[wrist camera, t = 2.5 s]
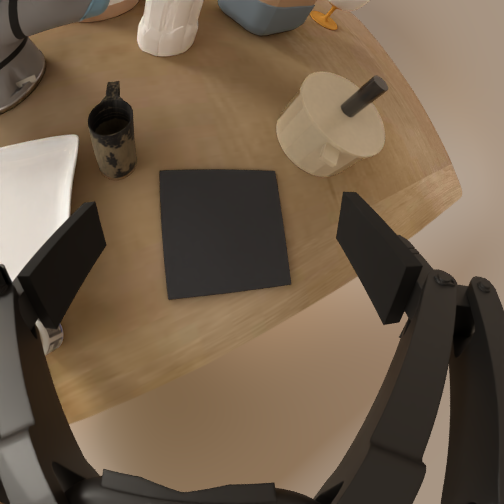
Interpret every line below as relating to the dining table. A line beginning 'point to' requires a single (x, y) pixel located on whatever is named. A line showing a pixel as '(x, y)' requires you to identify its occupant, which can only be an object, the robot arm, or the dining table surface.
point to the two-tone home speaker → (267, 14)
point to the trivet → (222, 232)
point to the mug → (113, 134)
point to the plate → (34, 195)
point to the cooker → (309, 143)
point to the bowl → (113, 10)
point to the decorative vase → (168, 26)
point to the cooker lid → (345, 112)
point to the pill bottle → (50, 337)
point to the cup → (339, 0)
